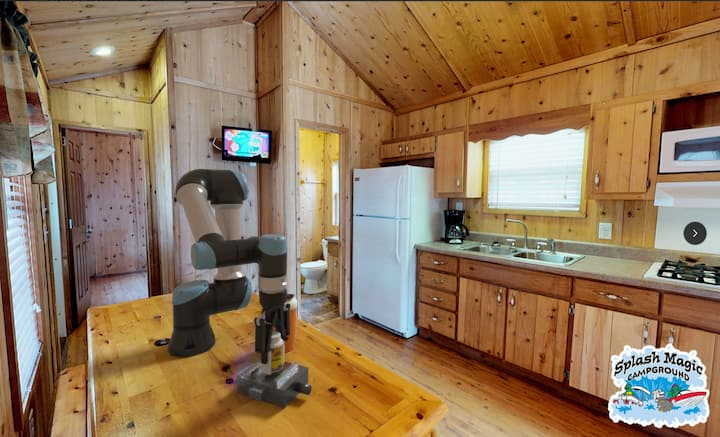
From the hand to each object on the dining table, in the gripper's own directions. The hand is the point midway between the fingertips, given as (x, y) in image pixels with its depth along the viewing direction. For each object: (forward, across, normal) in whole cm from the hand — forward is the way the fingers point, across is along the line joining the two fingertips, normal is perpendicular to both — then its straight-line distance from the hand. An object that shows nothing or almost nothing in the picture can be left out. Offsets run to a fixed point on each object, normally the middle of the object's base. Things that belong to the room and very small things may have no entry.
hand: (273, 367), depth 91 cm
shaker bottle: (+7, +21, +11) cm, 25 cm away
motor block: (+6, -1, -2) cm, 7 cm away
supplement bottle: (+1, 0, 0) cm, 1 cm away
